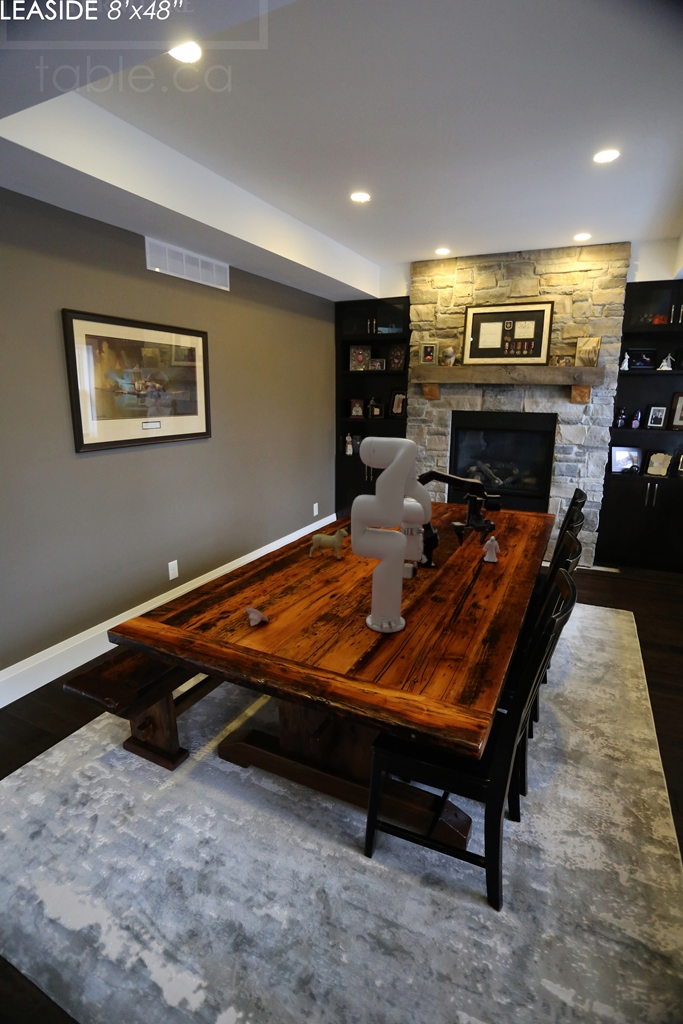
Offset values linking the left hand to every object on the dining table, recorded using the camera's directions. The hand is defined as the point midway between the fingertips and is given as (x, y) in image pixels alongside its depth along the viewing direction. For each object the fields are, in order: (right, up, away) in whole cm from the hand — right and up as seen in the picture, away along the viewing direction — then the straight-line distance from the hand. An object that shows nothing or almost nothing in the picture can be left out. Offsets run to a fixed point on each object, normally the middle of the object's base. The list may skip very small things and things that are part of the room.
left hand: (407, 575), depth 194 cm
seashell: (-53, -11, -32) cm, 63 cm away
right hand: (+30, +10, +19) cm, 37 cm away
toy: (-31, +4, +31) cm, 44 cm away
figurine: (+41, +3, +31) cm, 52 cm away
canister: (0, 0, 0) cm, 0 cm away
